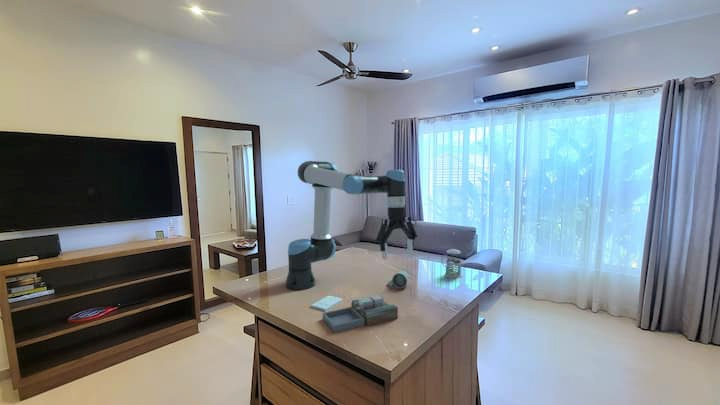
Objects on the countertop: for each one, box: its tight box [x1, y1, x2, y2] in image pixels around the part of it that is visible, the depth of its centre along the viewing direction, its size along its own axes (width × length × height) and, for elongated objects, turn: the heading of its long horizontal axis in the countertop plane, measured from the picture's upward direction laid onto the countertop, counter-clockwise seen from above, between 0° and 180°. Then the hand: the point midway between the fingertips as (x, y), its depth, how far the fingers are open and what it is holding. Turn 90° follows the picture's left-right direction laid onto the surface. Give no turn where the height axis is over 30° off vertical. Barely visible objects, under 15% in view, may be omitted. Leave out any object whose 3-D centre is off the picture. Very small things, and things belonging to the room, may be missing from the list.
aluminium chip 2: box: [369, 294, 384, 309], centre depth 119 cm, size 4×4×4 cm
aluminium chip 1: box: [358, 296, 373, 311], centre depth 117 cm, size 4×4×4 cm
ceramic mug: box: [387, 270, 410, 289], centre depth 152 cm, size 11×8×8 cm
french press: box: [440, 231, 463, 279], centre depth 167 cm, size 10×12×25 cm
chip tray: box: [322, 306, 366, 333], centre depth 113 cm, size 12×12×2 cm
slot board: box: [350, 295, 399, 327], centre depth 119 cm, size 14×14×4 cm
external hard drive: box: [310, 295, 343, 312], centre depth 130 cm, size 2×8×12 cm
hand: (397, 256), depth 125 cm, fingers open, 13 cm apart
